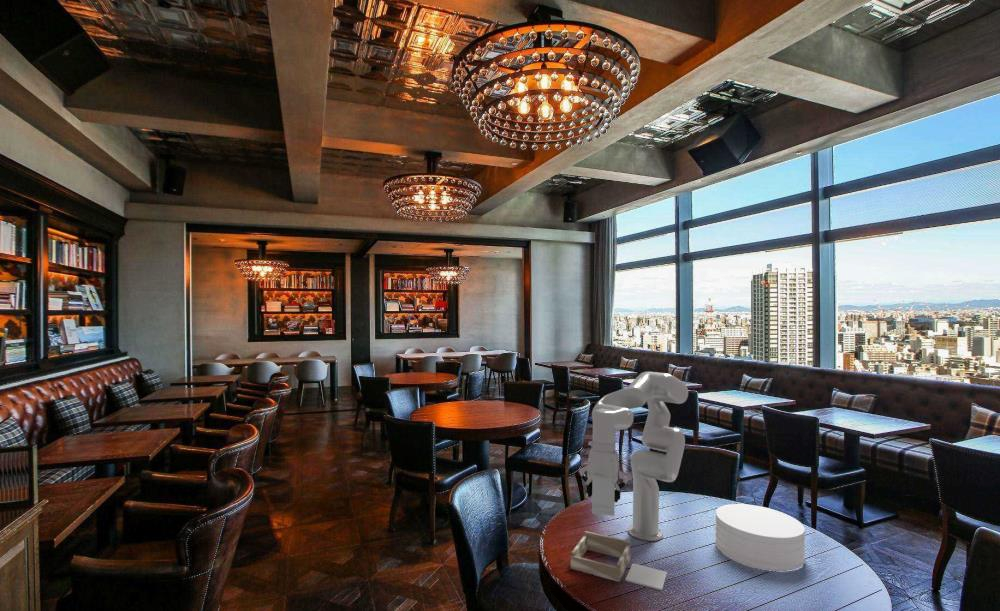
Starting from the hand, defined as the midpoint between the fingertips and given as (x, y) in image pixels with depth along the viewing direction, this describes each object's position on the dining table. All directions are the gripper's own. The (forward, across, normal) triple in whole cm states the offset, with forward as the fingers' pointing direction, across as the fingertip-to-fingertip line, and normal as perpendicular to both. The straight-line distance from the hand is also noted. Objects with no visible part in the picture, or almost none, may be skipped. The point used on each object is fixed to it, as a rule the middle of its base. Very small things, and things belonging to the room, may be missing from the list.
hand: (603, 498), depth 161 cm
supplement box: (+4, 0, 0) cm, 4 cm away
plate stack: (+23, +46, +36) cm, 63 cm away
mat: (+22, +15, -1) cm, 26 cm away
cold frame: (+22, 0, 0) cm, 22 cm away
